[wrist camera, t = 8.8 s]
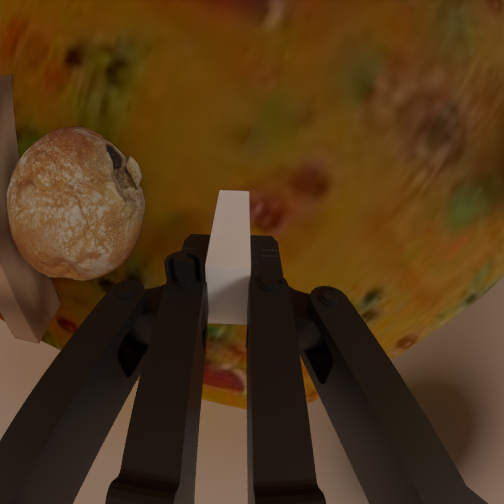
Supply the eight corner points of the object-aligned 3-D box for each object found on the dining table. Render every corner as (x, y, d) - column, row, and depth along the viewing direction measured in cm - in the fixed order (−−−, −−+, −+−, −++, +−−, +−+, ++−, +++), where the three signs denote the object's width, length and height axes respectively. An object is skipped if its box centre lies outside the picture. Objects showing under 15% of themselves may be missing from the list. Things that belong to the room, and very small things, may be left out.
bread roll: (171, 198, 23) (188, 212, 15) (87, 293, 22) (72, 345, 15) (86, 111, 18) (62, 83, 11) (3, 212, 18) (-46, 233, 10)
